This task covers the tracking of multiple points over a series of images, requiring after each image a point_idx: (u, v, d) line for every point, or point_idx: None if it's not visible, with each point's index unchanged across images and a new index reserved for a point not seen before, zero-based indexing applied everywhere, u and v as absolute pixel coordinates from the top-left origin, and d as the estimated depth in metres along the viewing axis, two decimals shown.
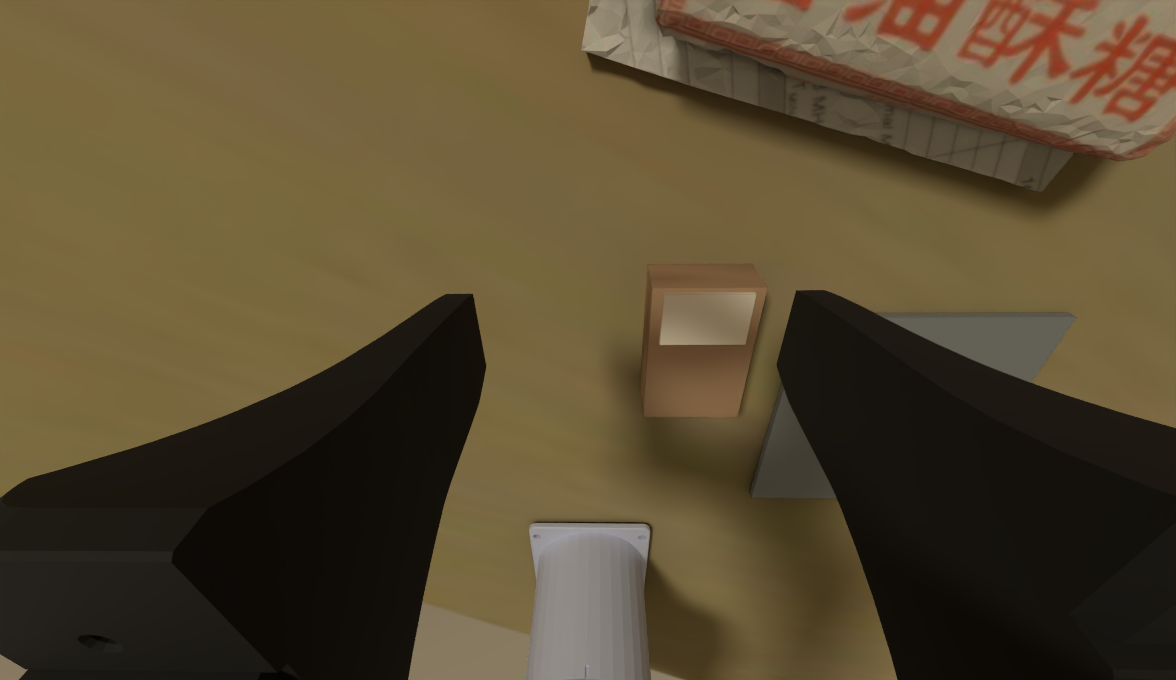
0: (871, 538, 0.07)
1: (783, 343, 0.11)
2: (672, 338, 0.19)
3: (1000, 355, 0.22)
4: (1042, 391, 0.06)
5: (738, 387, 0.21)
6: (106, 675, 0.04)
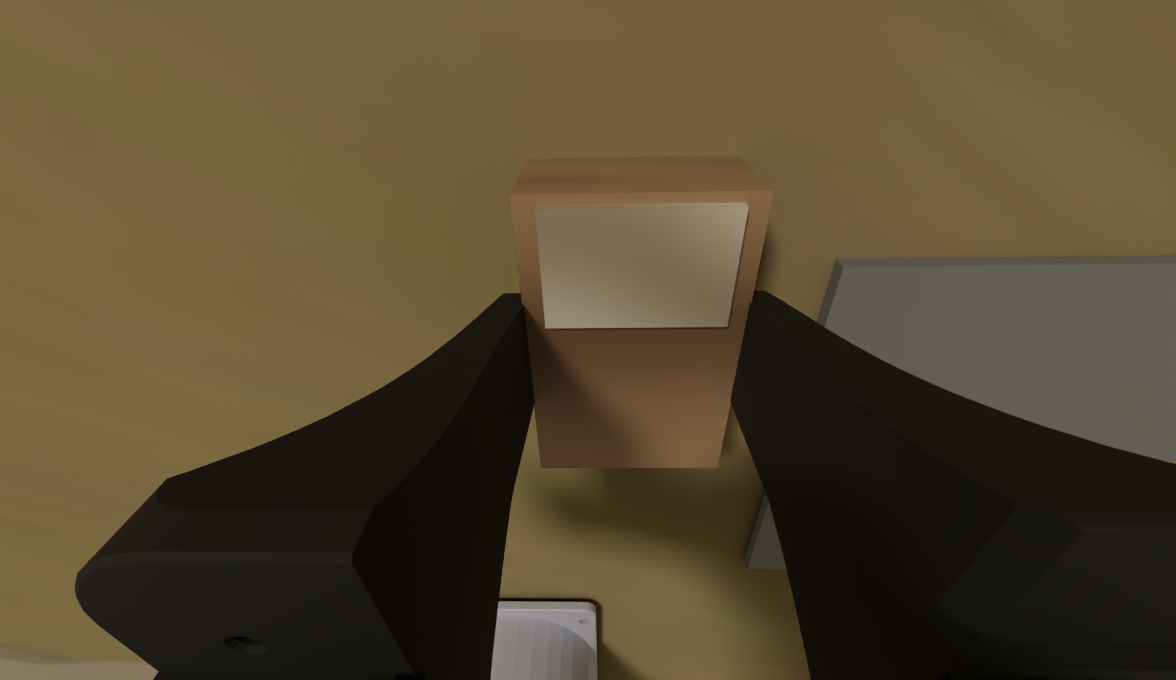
0: (792, 538, 0.08)
1: None
2: (570, 313, 0.09)
3: None
4: (939, 391, 0.06)
5: (717, 414, 0.11)
6: (239, 677, 0.04)
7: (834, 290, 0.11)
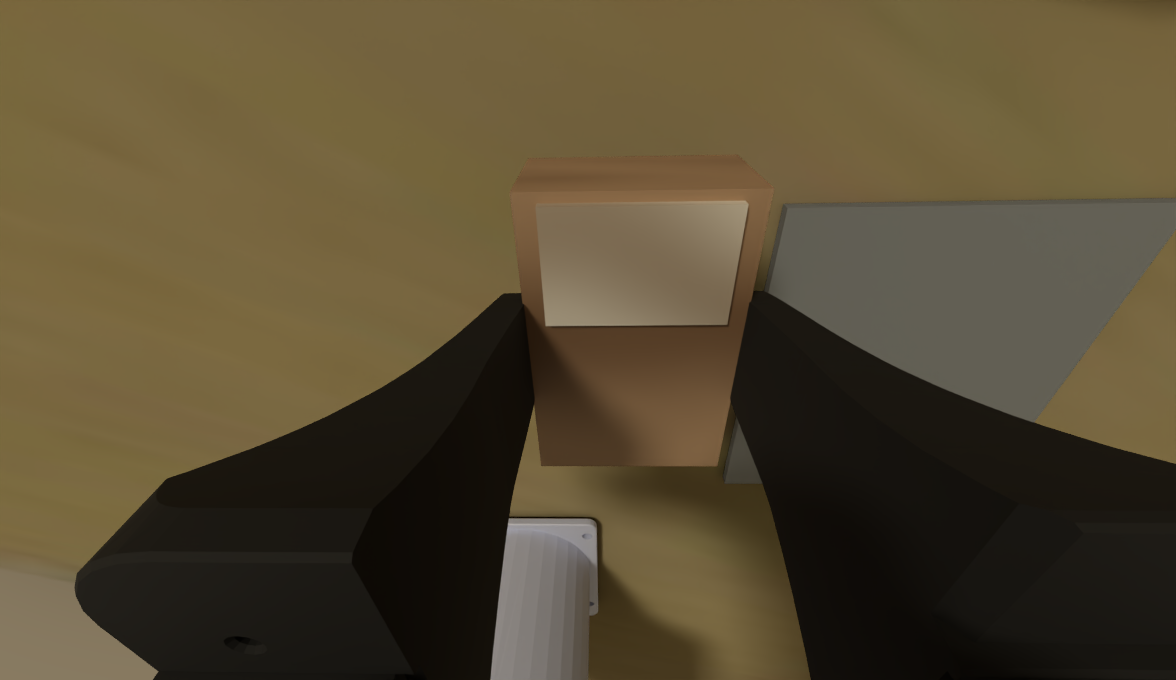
0: (792, 538, 0.08)
1: None
2: (570, 310, 0.09)
3: (1074, 268, 0.15)
4: (939, 391, 0.06)
5: (716, 412, 0.11)
6: (238, 677, 0.04)
7: (781, 227, 0.14)
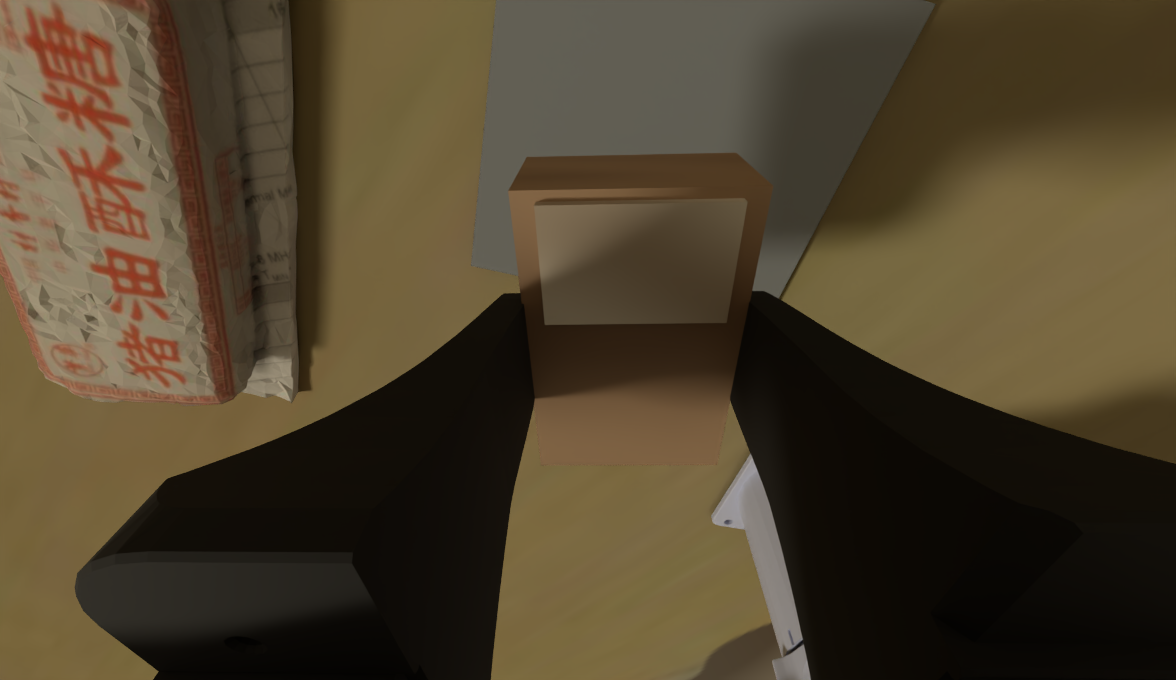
0: (792, 538, 0.08)
1: None
2: (569, 309, 0.09)
3: None
4: (939, 392, 0.06)
5: (716, 410, 0.11)
6: (239, 677, 0.04)
7: (487, 268, 0.19)
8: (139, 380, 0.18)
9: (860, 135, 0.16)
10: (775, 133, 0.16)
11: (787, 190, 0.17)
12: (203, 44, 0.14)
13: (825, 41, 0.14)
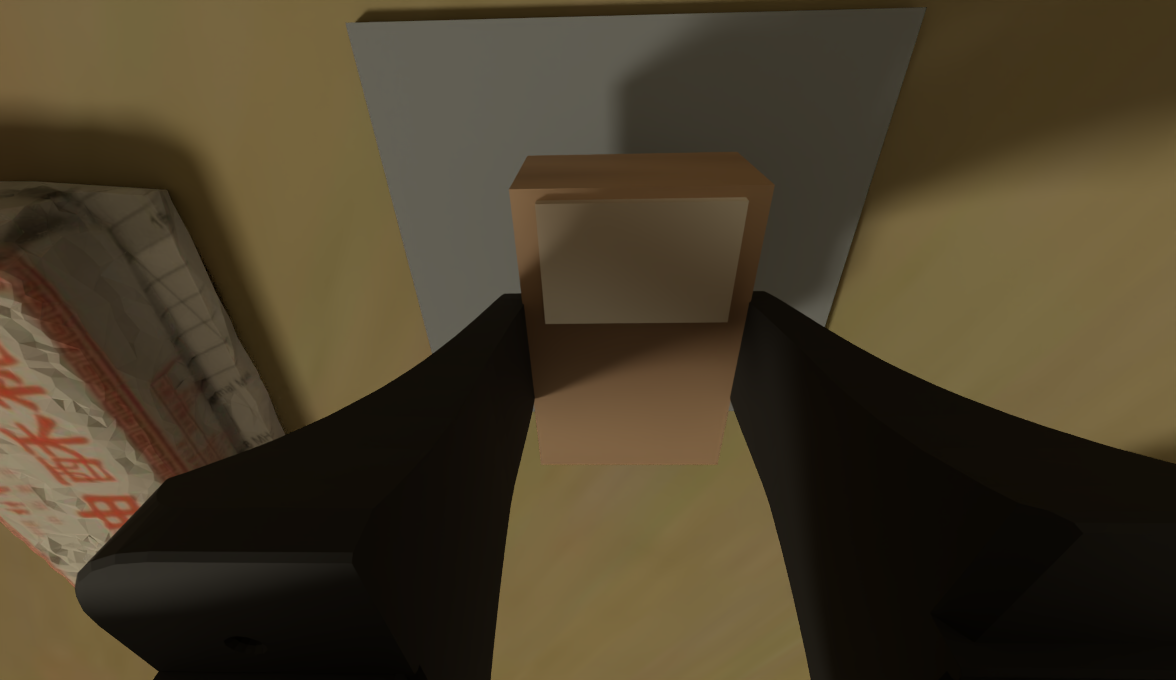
0: (792, 538, 0.08)
1: None
2: (570, 308, 0.09)
3: (456, 130, 0.12)
4: (939, 391, 0.06)
5: (717, 410, 0.11)
6: (239, 677, 0.04)
7: None
8: None
9: (863, 183, 0.12)
10: None
11: (784, 265, 0.14)
12: (100, 280, 0.13)
13: (785, 93, 0.11)
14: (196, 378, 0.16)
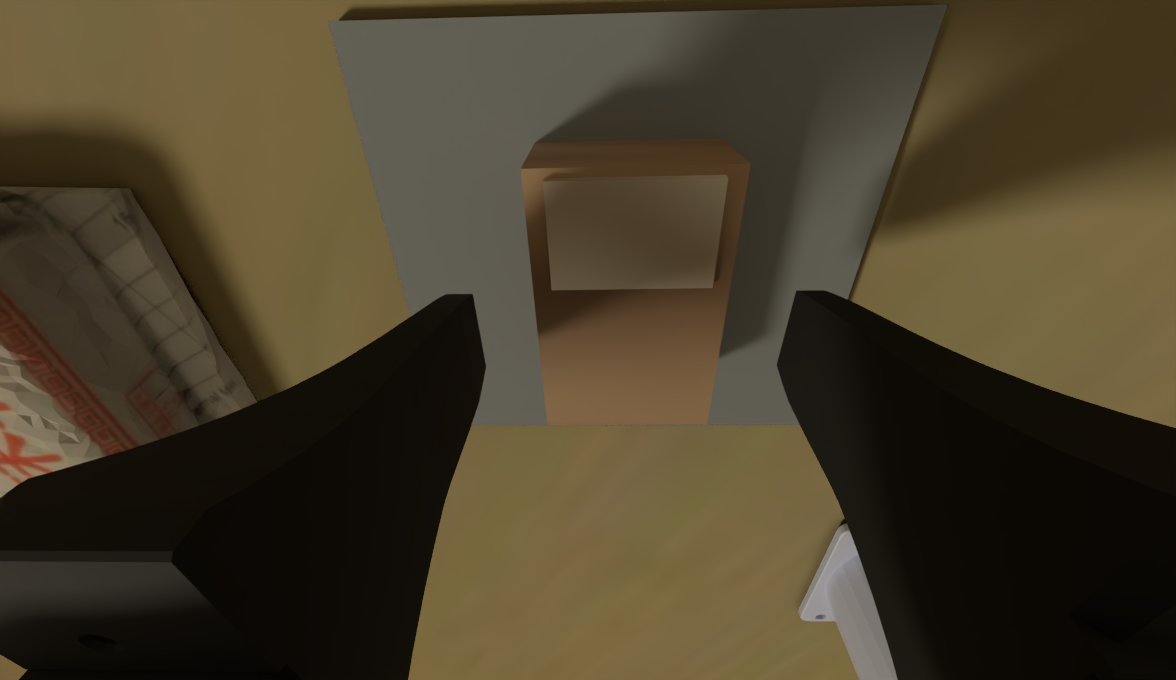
0: (871, 538, 0.07)
1: (783, 343, 0.11)
2: (573, 276, 0.10)
3: (446, 134, 0.11)
4: (1042, 391, 0.06)
5: (705, 371, 0.12)
6: (106, 675, 0.04)
7: None
8: None
9: (877, 191, 0.12)
10: (757, 217, 0.12)
11: (793, 275, 0.13)
12: (65, 288, 0.12)
13: (795, 95, 0.10)
14: (178, 388, 0.15)
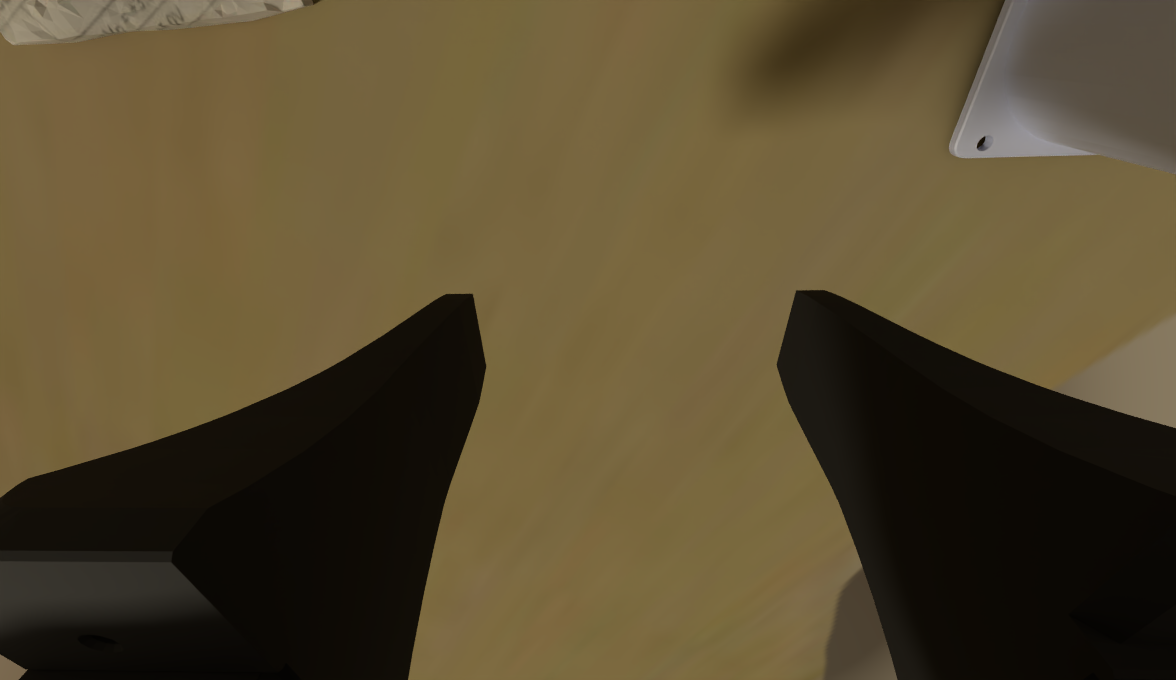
0: (871, 538, 0.07)
1: (783, 343, 0.11)
2: None
3: None
4: (1042, 391, 0.06)
5: None
6: (106, 675, 0.04)
7: None
8: None
9: None
10: None
11: None
12: None
13: None
14: None
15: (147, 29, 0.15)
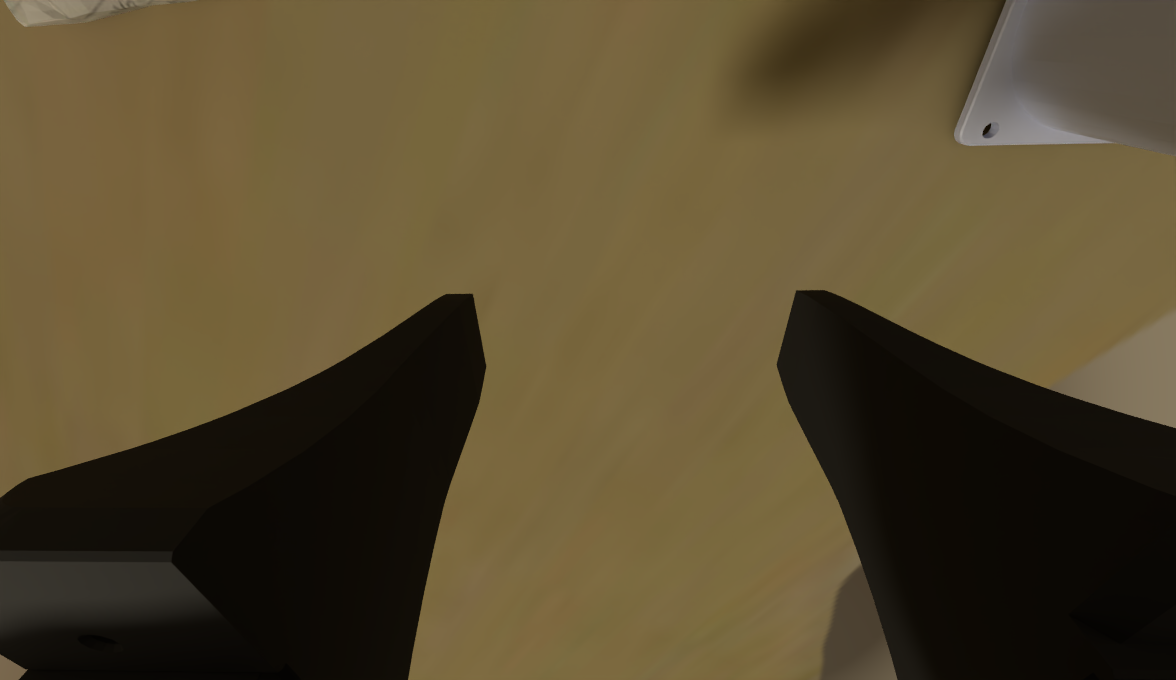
0: (871, 538, 0.07)
1: (783, 343, 0.11)
2: None
3: None
4: (1042, 391, 0.06)
5: None
6: (106, 675, 0.04)
7: None
8: None
9: None
10: None
11: None
12: None
13: None
14: None
15: (158, 3, 0.14)
